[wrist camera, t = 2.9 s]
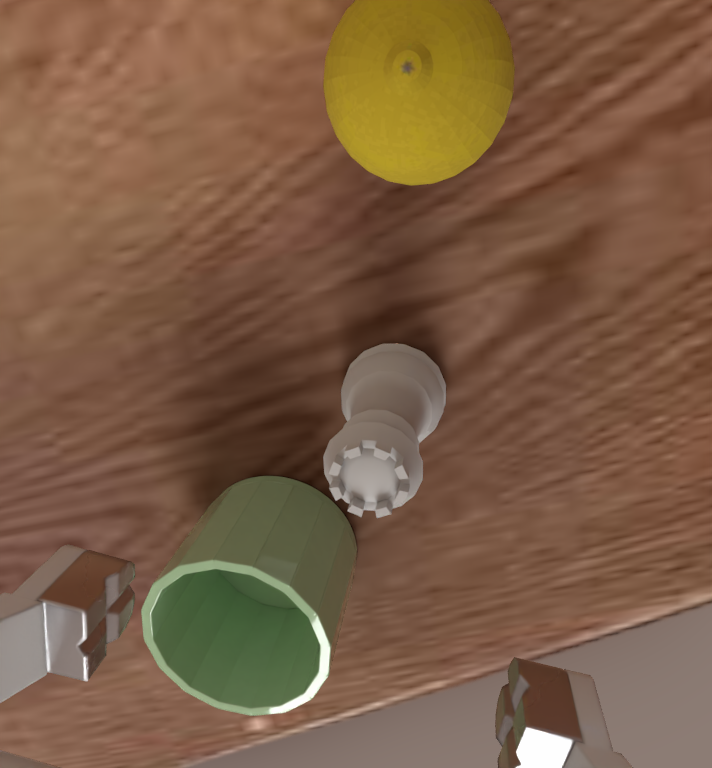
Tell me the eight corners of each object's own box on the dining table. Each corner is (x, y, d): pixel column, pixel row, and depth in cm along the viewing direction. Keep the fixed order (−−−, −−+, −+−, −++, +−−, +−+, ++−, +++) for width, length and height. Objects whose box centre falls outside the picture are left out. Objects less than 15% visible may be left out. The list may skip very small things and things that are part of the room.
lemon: (343, 172, 22) (285, 177, 15) (359, 4, 20) (301, -87, 13) (487, 190, 21) (502, 204, 14) (519, 18, 19) (555, -70, 12)
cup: (283, 445, 27) (232, 526, 21) (389, 562, 28) (370, 669, 22) (176, 526, 30) (104, 617, 24) (278, 628, 31) (234, 739, 25)
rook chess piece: (468, 377, 24) (471, 470, 17) (409, 453, 26) (389, 567, 19) (379, 319, 24) (344, 388, 17) (326, 399, 26) (272, 494, 18)
